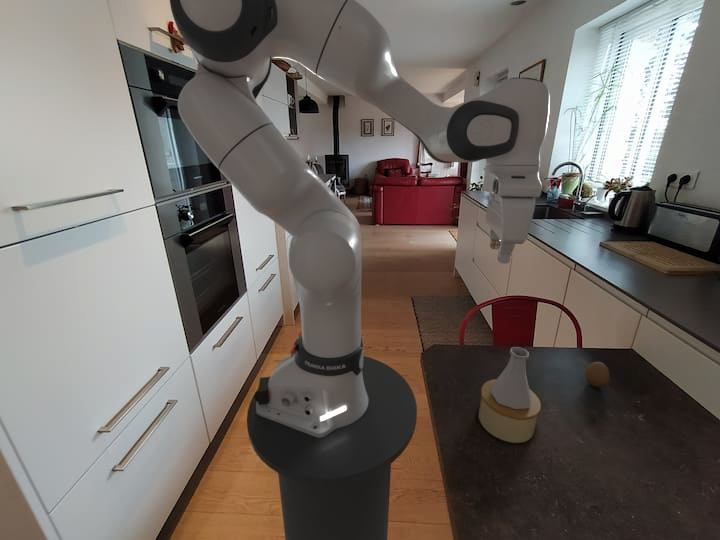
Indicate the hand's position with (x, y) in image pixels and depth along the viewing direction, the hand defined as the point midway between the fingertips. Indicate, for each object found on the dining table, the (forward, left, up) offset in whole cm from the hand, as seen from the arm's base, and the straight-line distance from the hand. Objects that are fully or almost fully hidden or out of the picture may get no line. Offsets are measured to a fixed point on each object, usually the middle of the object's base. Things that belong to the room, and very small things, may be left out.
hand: (498, 254), depth 63 cm
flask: (+4, -10, -25) cm, 27 cm away
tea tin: (+4, -10, -31) cm, 33 cm away
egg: (+26, +6, -31) cm, 41 cm away
